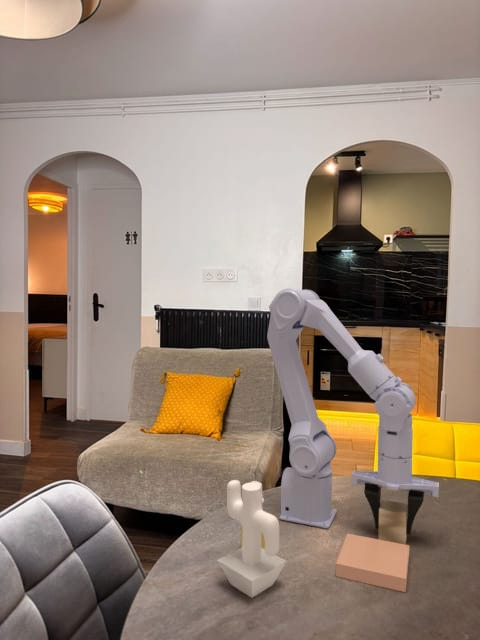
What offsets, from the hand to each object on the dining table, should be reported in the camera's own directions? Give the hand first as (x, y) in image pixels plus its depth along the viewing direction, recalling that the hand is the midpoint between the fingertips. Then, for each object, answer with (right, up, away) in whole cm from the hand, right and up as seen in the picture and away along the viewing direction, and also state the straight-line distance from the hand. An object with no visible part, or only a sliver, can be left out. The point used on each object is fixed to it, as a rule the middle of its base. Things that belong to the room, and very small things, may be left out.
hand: (393, 529), depth 84 cm
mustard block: (-26, +1, -3) cm, 26 cm away
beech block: (0, -1, 0) cm, 2 cm away
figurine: (-25, -2, -14) cm, 29 cm away
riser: (-6, -2, -9) cm, 11 cm away
